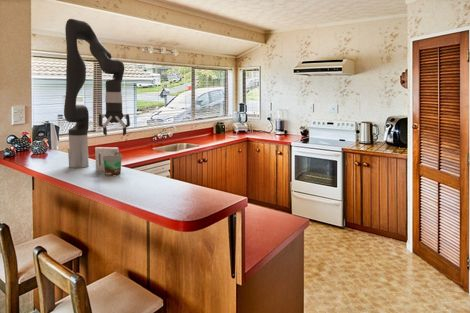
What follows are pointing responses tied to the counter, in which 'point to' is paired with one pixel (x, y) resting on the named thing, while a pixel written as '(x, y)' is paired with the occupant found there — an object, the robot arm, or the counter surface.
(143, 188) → the counter surface
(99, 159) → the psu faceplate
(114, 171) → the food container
